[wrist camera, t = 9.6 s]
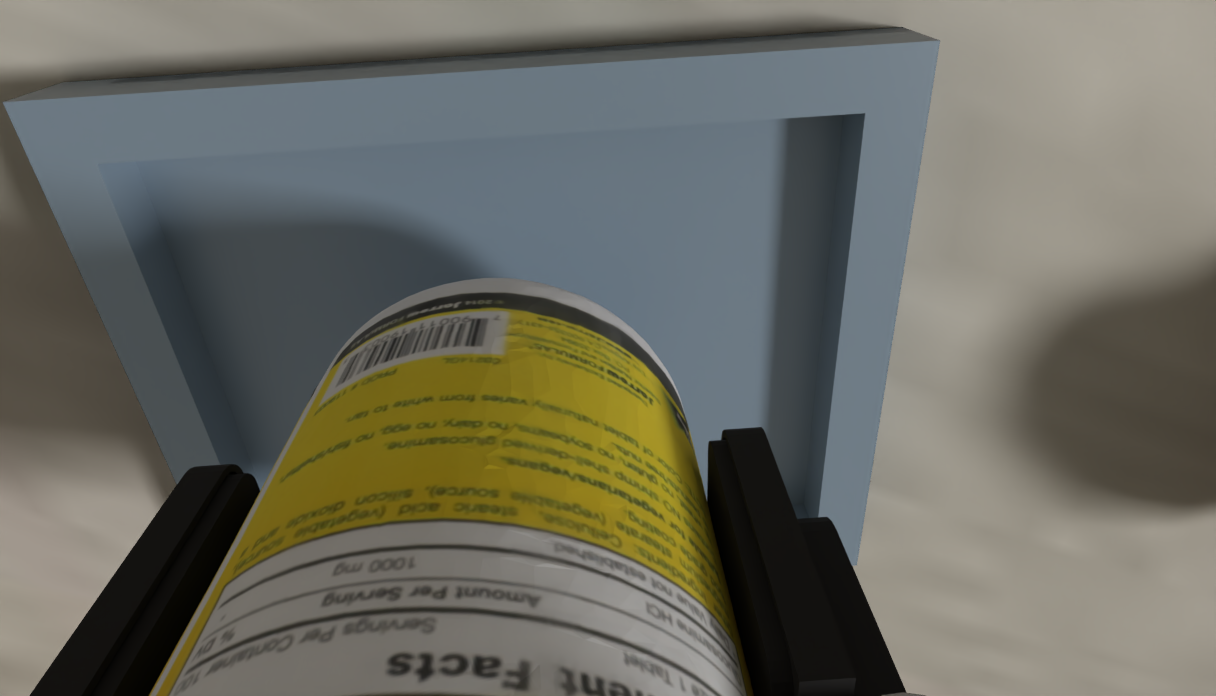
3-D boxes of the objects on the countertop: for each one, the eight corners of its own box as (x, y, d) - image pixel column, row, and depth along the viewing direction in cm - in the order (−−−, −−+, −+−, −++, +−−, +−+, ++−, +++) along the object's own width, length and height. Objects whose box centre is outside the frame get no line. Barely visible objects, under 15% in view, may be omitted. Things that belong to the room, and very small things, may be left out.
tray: (62, 82, 12) (2, 101, 11) (901, 27, 12) (939, 40, 11) (257, 557, 18) (232, 607, 17) (836, 518, 18) (856, 565, 17)
